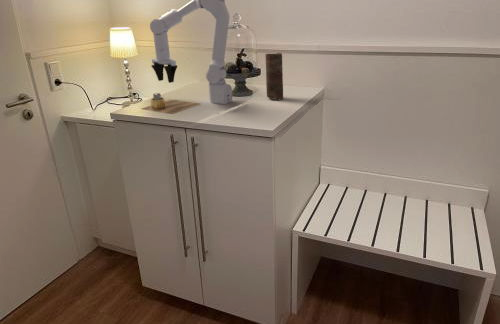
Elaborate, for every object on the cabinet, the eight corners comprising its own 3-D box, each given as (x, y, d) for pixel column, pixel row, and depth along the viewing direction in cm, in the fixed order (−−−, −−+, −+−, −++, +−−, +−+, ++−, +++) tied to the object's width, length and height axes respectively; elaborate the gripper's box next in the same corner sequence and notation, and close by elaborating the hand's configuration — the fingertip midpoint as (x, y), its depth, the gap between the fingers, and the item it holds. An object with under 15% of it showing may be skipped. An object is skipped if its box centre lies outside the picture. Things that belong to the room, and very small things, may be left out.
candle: (263, 100, 166) (263, 53, 159) (269, 96, 173) (268, 51, 165) (280, 101, 164) (280, 53, 156) (285, 97, 170) (285, 51, 162)
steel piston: (163, 106, 157) (162, 93, 155) (158, 108, 155) (156, 95, 153) (158, 105, 159) (156, 93, 157) (153, 107, 156) (151, 94, 154)
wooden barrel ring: (167, 106, 157) (166, 98, 156) (157, 109, 153) (156, 101, 152) (159, 104, 160) (158, 96, 159) (149, 107, 156) (148, 99, 155)
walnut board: (201, 105, 160) (201, 103, 160) (172, 116, 146) (172, 114, 146) (170, 101, 169) (170, 99, 169) (140, 111, 155) (140, 108, 155)
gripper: (180, 49, 157) (183, 81, 163) (160, 47, 167) (163, 78, 172) (166, 50, 153) (170, 84, 158) (146, 49, 162) (150, 80, 167)
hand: (166, 81), depth 165 cm, fingers open, 7 cm apart
